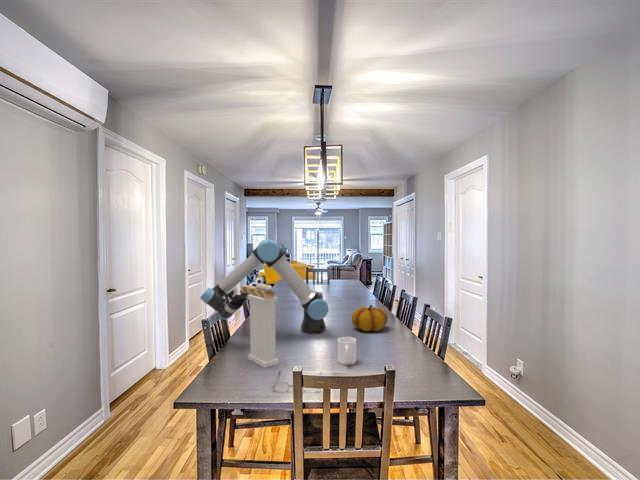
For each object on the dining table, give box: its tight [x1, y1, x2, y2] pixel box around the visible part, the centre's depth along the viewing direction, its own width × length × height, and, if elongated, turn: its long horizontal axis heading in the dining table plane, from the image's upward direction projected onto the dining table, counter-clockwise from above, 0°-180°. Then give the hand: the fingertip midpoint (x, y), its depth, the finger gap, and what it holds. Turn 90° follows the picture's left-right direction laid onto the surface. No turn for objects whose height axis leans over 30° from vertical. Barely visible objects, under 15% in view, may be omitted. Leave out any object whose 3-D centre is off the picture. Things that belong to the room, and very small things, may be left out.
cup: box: [337, 336, 357, 366], centre depth 157 cm, size 8×12×10 cm
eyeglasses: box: [271, 370, 322, 393], centre depth 138 cm, size 18×19×4 cm
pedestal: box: [247, 295, 279, 369], centre depth 160 cm, size 15×7×30 cm, turn 39°
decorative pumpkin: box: [351, 304, 388, 333], centre depth 211 cm, size 20×22×15 cm
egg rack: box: [240, 282, 275, 299], centre depth 163 cm, size 24×4×6 cm, turn 39°
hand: (250, 287), depth 168 cm, fingers open, 13 cm apart
